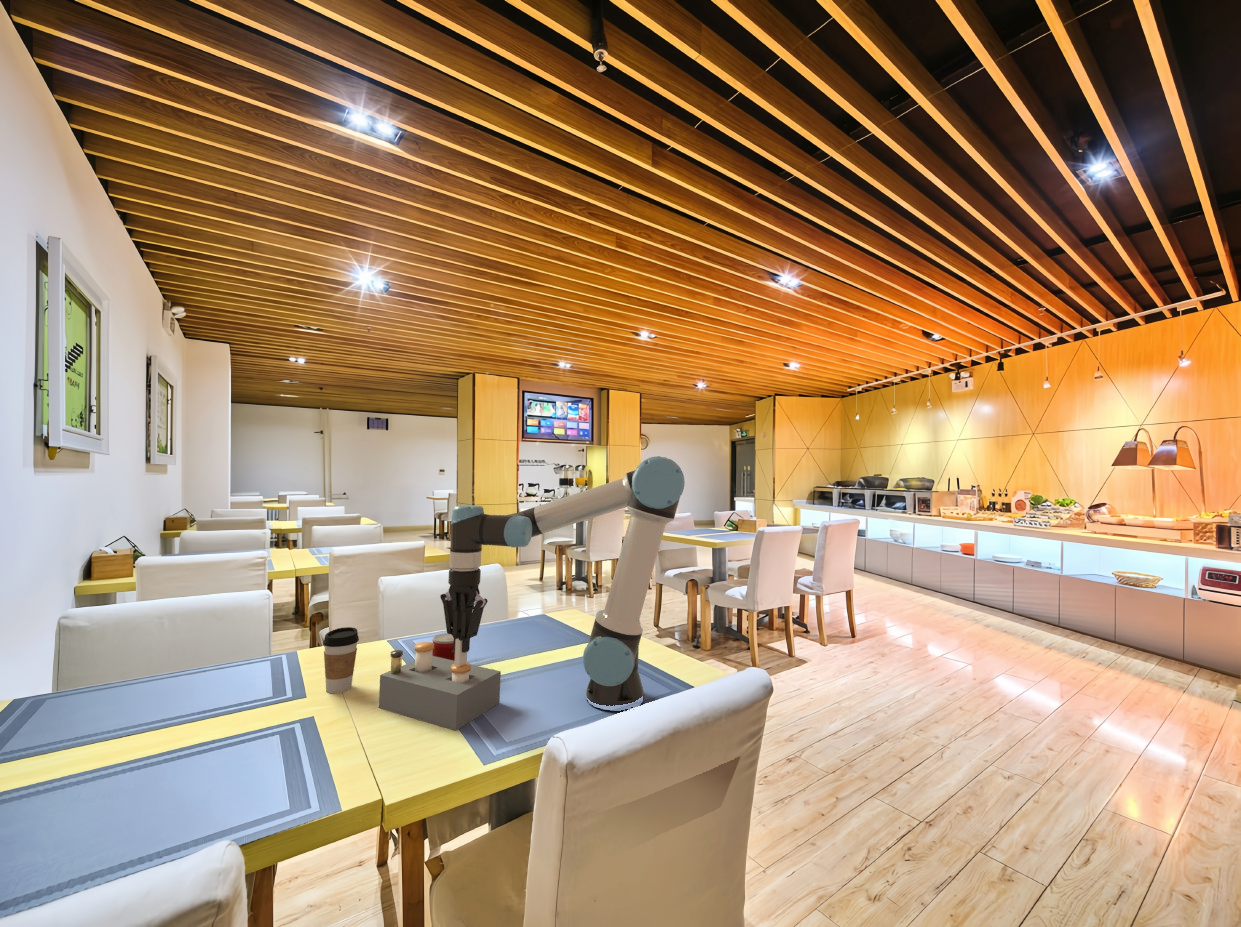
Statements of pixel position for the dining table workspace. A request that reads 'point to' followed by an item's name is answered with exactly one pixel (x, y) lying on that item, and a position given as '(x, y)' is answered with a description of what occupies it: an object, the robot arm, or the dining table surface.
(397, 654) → the small capped vial
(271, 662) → the dining table surface
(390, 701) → the grey vial rack
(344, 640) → the coffee cup
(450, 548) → the robot arm
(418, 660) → the knob
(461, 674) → the knob
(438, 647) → the canned food
